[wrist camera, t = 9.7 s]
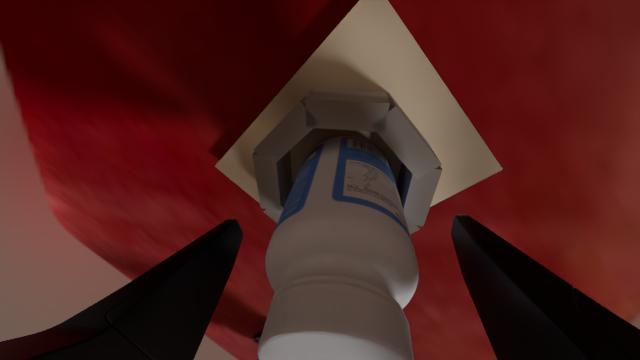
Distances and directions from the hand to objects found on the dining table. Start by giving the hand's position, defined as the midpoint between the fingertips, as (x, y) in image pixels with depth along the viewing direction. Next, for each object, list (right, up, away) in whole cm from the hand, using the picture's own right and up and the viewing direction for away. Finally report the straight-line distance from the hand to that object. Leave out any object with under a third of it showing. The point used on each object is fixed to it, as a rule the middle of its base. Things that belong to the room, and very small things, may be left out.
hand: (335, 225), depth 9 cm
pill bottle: (+1, +2, +5) cm, 5 cm away
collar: (+1, +3, +5) cm, 6 cm away
